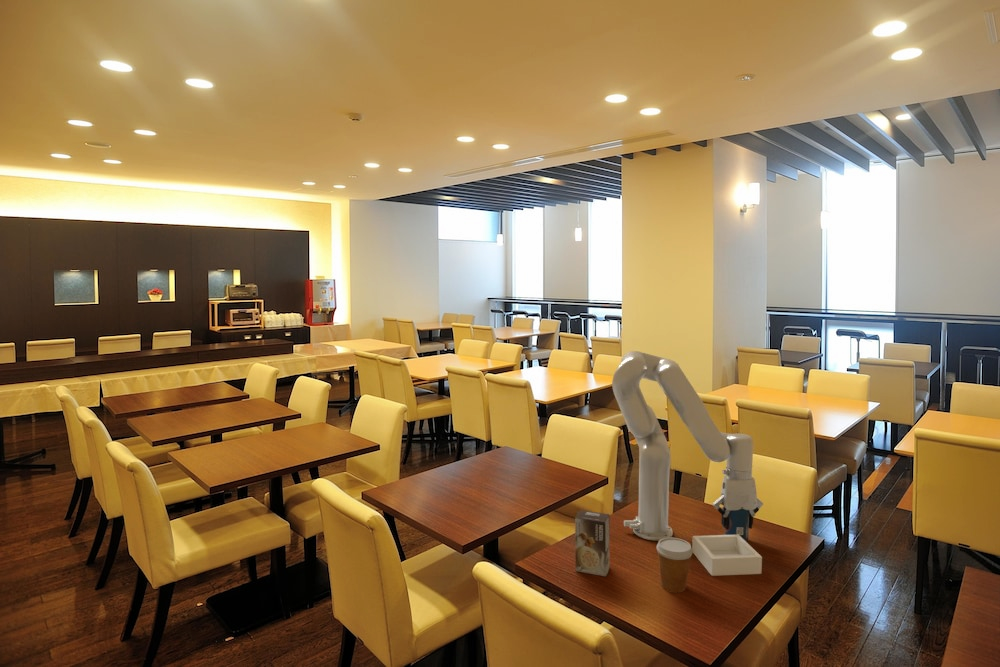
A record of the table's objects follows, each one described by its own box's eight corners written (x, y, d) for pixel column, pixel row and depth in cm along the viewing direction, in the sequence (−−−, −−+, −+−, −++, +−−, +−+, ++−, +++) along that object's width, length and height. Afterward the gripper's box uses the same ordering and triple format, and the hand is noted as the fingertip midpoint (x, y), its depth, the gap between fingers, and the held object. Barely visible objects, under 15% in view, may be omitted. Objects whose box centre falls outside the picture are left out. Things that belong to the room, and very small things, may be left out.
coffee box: (610, 566, 171) (611, 513, 169) (605, 577, 165) (606, 522, 163) (579, 561, 174) (579, 509, 173) (574, 571, 168) (574, 517, 167)
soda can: (722, 534, 192) (723, 498, 190) (744, 535, 191) (746, 499, 189) (727, 544, 185) (729, 507, 183) (751, 545, 184) (752, 508, 182)
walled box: (711, 575, 166) (712, 558, 165) (692, 551, 180) (692, 535, 179) (761, 573, 166) (762, 557, 166) (737, 549, 181) (738, 534, 180)
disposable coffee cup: (686, 599, 154) (687, 556, 152) (650, 589, 159) (651, 547, 157) (695, 583, 162) (696, 541, 160) (661, 574, 167) (662, 533, 165)
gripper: (717, 478, 181) (715, 533, 183) (771, 476, 182) (769, 531, 184) (707, 469, 189) (705, 523, 190) (759, 468, 190) (757, 521, 191)
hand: (737, 526), depth 187 cm, fingers closed on soda can, 6 cm apart
